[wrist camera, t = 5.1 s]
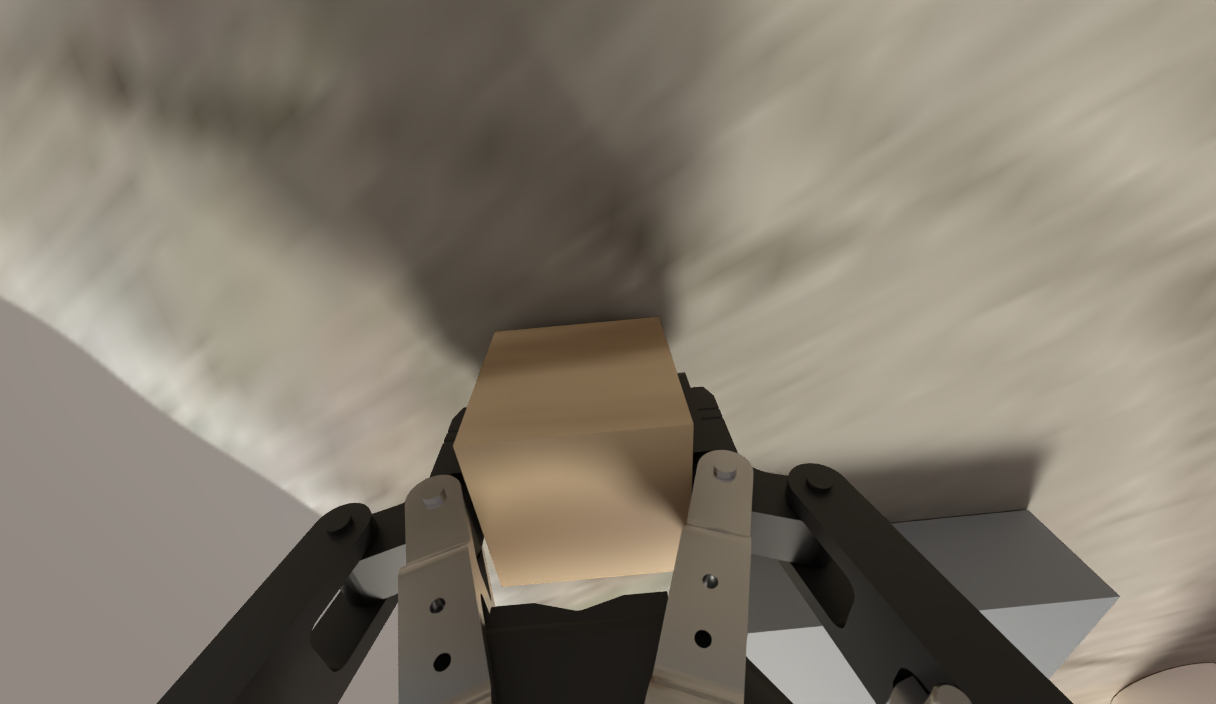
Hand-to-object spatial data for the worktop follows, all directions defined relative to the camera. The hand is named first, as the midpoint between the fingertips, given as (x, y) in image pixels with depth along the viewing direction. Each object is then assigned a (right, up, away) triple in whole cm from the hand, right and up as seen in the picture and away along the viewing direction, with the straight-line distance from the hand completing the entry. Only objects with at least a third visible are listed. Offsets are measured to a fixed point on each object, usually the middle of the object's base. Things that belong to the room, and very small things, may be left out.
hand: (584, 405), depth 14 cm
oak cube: (0, 0, +1) cm, 1 cm away
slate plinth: (+13, -12, +9) cm, 20 cm away
